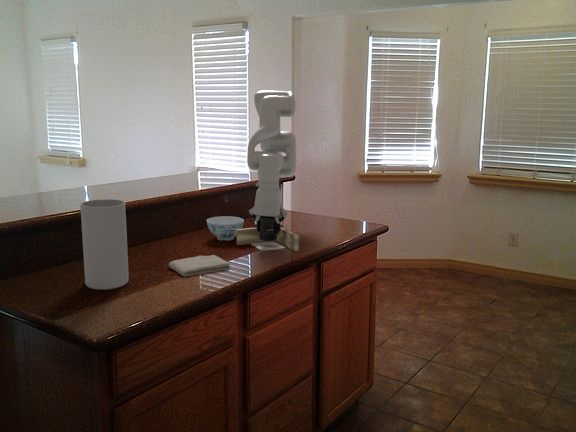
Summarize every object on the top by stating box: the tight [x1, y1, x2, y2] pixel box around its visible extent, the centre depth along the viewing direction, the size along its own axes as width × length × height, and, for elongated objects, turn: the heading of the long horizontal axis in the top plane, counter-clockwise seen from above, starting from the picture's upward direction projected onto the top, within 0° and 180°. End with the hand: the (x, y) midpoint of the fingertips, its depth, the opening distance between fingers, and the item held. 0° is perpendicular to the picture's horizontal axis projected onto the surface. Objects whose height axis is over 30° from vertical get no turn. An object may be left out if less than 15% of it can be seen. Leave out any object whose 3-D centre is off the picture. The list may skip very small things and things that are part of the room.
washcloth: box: [168, 254, 231, 277], centre depth 177 cm, size 12×18×3 cm, turn 126°
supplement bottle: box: [259, 216, 277, 242], centre depth 204 cm, size 7×7×12 cm
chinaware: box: [206, 215, 245, 242], centre depth 215 cm, size 15×15×8 cm
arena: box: [236, 226, 300, 252], centre depth 204 cm, size 18×18×6 cm
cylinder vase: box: [80, 198, 129, 291], centre depth 158 cm, size 12×12×25 cm
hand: (268, 231), depth 204 cm, fingers closed on supplement bottle, 6 cm apart
